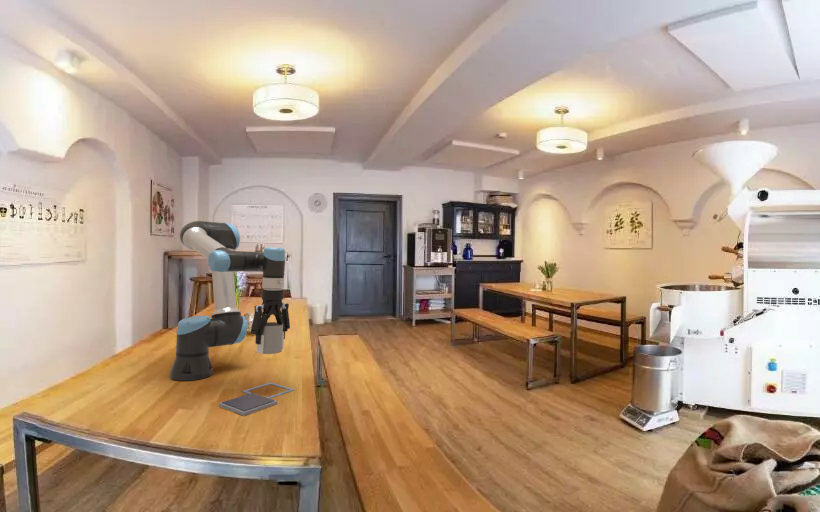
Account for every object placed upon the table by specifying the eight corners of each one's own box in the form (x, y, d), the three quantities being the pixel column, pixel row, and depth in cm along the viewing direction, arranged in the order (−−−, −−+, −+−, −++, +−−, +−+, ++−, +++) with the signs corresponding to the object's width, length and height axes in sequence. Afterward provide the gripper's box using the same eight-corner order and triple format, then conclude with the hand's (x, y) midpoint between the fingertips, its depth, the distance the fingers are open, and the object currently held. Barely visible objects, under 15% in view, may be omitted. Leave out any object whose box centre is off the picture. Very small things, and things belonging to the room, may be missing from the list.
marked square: (241, 391, 147) (241, 391, 147) (271, 383, 158) (271, 382, 158) (265, 399, 140) (265, 399, 140) (294, 390, 151) (294, 389, 151)
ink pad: (218, 406, 133) (218, 402, 133) (252, 395, 144) (252, 391, 144) (243, 415, 126) (243, 411, 126) (277, 403, 137) (277, 400, 137)
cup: (274, 355, 144) (275, 326, 144) (253, 352, 146) (254, 325, 146) (286, 349, 153) (287, 323, 152) (266, 347, 154) (267, 321, 154)
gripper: (255, 291, 138) (252, 357, 138) (301, 288, 156) (299, 347, 156) (241, 289, 142) (238, 354, 142) (288, 287, 160) (285, 344, 160)
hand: (270, 350), depth 149 cm, fingers closed on cup, 8 cm apart
